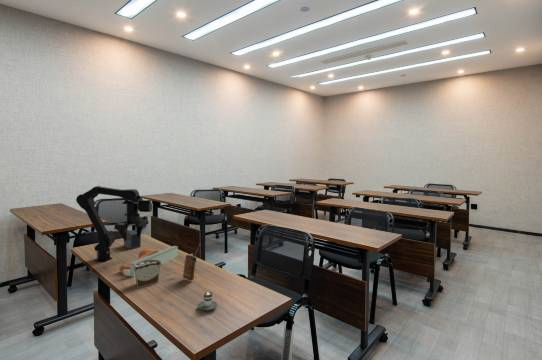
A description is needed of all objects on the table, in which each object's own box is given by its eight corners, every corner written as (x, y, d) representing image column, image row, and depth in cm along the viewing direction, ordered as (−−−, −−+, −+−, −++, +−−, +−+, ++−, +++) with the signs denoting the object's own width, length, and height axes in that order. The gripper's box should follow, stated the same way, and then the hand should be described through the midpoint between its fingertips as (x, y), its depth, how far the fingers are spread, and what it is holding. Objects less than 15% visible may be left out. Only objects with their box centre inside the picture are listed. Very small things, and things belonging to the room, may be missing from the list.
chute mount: (123, 274, 142) (123, 261, 142) (168, 255, 172) (168, 244, 172) (134, 277, 140) (134, 263, 139) (177, 257, 170) (177, 246, 170)
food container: (155, 277, 140) (156, 257, 140) (161, 281, 136) (161, 260, 135) (129, 284, 132) (129, 263, 131) (134, 288, 127) (134, 266, 127)
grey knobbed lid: (195, 315, 107) (196, 302, 107) (190, 301, 118) (190, 289, 118) (227, 309, 112) (227, 297, 112) (218, 296, 123) (218, 284, 123)
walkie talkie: (205, 279, 140) (205, 242, 139) (182, 288, 130) (182, 248, 129) (189, 272, 148) (189, 237, 147) (165, 280, 138) (166, 243, 137)
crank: (150, 260, 164) (150, 246, 164) (160, 263, 161) (160, 249, 160) (118, 272, 146) (117, 256, 146) (128, 275, 143) (128, 259, 142)
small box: (141, 249, 184) (141, 232, 184) (131, 251, 179) (131, 234, 178) (133, 245, 191) (133, 230, 190) (123, 247, 186) (123, 231, 185)
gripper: (128, 215, 151) (128, 245, 151) (155, 210, 168) (155, 237, 169) (113, 213, 155) (113, 242, 156) (141, 209, 172) (141, 234, 173)
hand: (132, 239), depth 163 cm, fingers open, 9 cm apart
